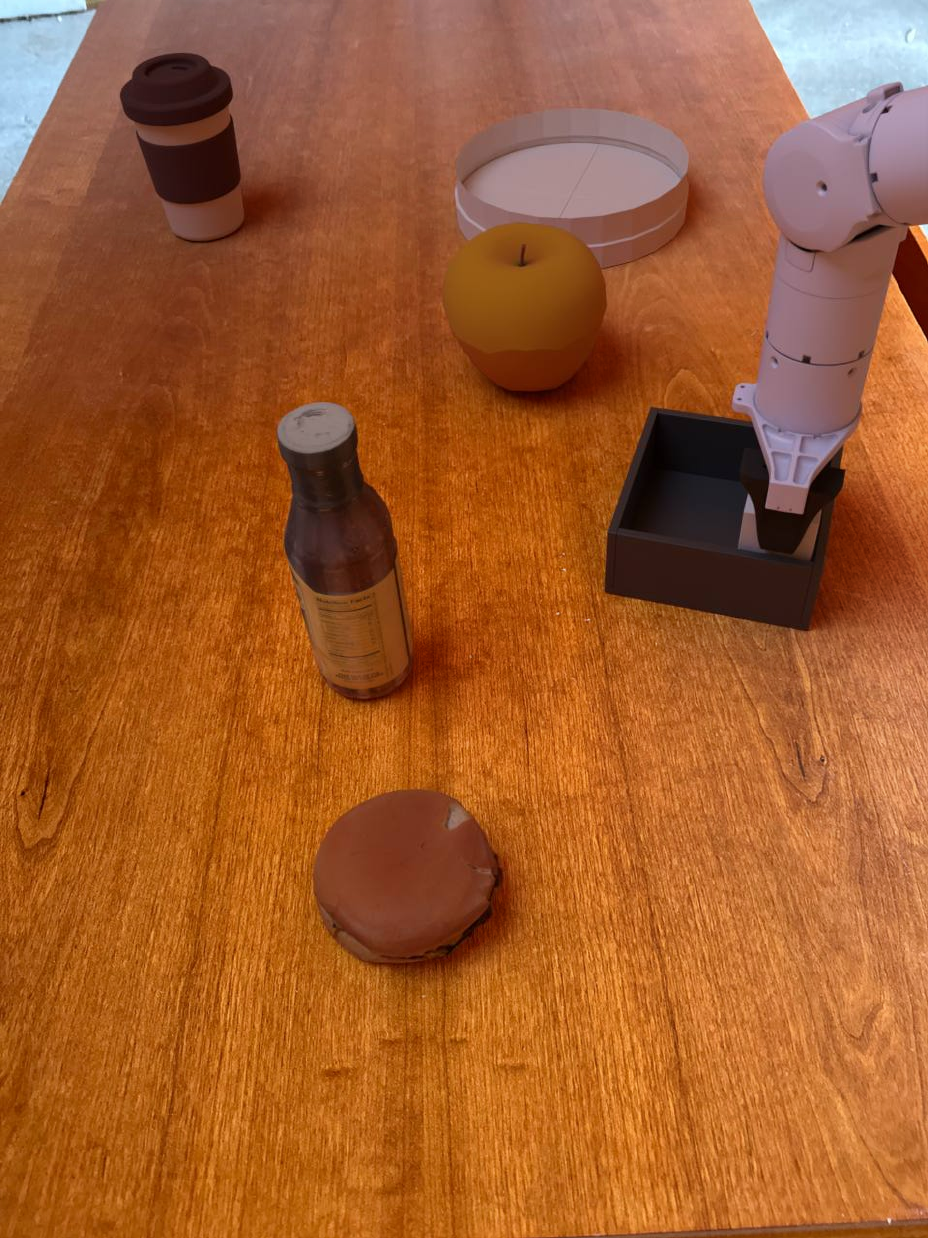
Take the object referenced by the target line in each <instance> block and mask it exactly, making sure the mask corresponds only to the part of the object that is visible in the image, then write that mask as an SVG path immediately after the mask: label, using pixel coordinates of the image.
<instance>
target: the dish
mask: <svg viewBox="0 0 928 1238" xmlns="http://www.w3.org/2000/svg"><path fill="white" fill-rule="evenodd" d="M689 162H690V155H689V151H688V149H687V148H686V146H685V143H684V142H683V140H681V139H680V138H679V137H678V136H677V135H676V134H675V133H674V132H673V131H672V130H671V129H669V128H667V127H665V126H664V125H661V124H660V123H658V122H655V121H653V120H651V119H648V118H646V117H641V116H638V115H636V114H632V113H630V112H629V113H628V112H625V111H617V110H610V109H605V108H585V107H583V108H582V107H567V108H556V109H543V110H539V111H534V112H530V113H525V114H519V115H516V116H513V117H510V118H507V119H504V120H502V121H501V120H500V121H499V122H496V123H493V124H491V125H490V126H487V127H486V128H484V129H483V130H481V131H479V132H477V133H475V134H473V136H472V137H471V138H469V140H467V142H466V143H464V144H463V145H462V146H461V147H460V149H459V152H458V153H457V156H456V159H455V161H454V167H455V178H456V180H455V181H456V185H455V188H454V199H455V210H456V219H457V220H456V221H457V227H458V229H459V230H460V232H461V233H462V235H463V236H464V238H465V240H466V241H467V242H468V241H470V240H471V239H473V238H474V237H475V236H477V235H478V234H480V233H482V232H484V231H486V230H488V229H490V228H492V227H494V226H498V225H504V224H510V223H516V222H522V223H530V224H538V225H547V226H553V227H556V228H559V229H563V230H566V231H569V232H570V233H571V234H573V235H574V236H576V237H577V238H579V239H580V240H581V241H582V242H584V243H585V244H586V245H587V246H588V247H589V248H590V249H591V251H592V252H593V254H594V256H595V257H596V259H597V261H598V262H599V264H600V267H601V270H602V269H606V268H610V267H614V266H618V265H622V264H627V263H631V262H633V261H636V260H638V259H641V258H643V257H645V256H647V255H650V254H652V253H654V252H657V251H658V250H659V249H660V248H662V247H663V246H664V245H666V244H668V243H669V242H670V241H671V240H673V239H674V238H675V237H676V235H677V234H678V233H679V231H680V230H681V228H682V227H683V225H684V224H685V221H686V215H687V214H686V213H687V204H688V197H689V191H690V184H689V182H688V179H687V178H688V172H689V164H690V163H689Z"/></svg>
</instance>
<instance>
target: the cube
mask: <svg viewBox="0 0 928 1238" xmlns="http://www.w3.org/2000/svg"><path fill="white" fill-rule="evenodd" d="M821 510H822V509H821ZM821 510H820V511H819V512H818V514H817V515H816V516H815V518H814V519H813V521H812V522H811V524H810V526H809V528H808V530H807V532H806V534H805V535H804V537H803V539H802V541H801V543H800V545H799V546H798V548H797V549H796V551H795V552H794V553H793V554H787V553H781V552H775V551H769V550H764V549H761V548H760V547H759V543H758V538H757V530H756V518H755V510H754V506H753V503H752V500H751V497H750V495H749V493H748V496H747V501H746V505H745V509H744V514H743V520H742V526H741V532H740V538H739V544H738V549H742V550H748V551H754V552H759V553H765V554H771V555H776V556H782V557H788V558H794V559H799V560H805V561H811V557H812V553H813V548H814V544H815V540H816V535H817V531H818V527H819V522H820V516H821Z"/></svg>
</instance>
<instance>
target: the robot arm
mask: <svg viewBox="0 0 928 1238" xmlns="http://www.w3.org/2000/svg"><path fill="white" fill-rule="evenodd" d="M762 188H763V195H764V200H765V204H766V208H767V209H768V211H769V212H768V213H769V215H770V217H771V218H772V221H773V223H774V224H775V226H776V227H777V229H778V230H779V236H778V242H777V249H776V254H775V255H776V256H775V262H774V269H773V276H772V282H771V288H770V293H769V294H770V295H769V300H768V307H767V313H766V319H765V320H766V321H765V326H764V332H763V339H762V344H761V351H760V352H761V353H760V359H759V365H758V366H759V367H758V370H757V371H758V372H757V378H756V383H751V382H750V383H749V382H741V383H738V384H736V386H735V388H734V392H733V396H732V400H731V410H732V411H733V412H735V413H738V414H743V415H747V416H748V417H750V419H751V420H750V421H752V423H753V426H754V429H755V432H756V435H757V438H758V441H759V444H760V447H761V450H758V449H752V448H745V450H744V454H743V458H742V462H741V467H740V477H741V482H742V485H743V486H744V487H745V489H746V490H747V492H748V493H749V495H750V497H751V500H752V503H753V506H754V510H755V518H756V530H757V538H758V543H759V547H760V548H761V549H764V550H769V551H775V552H781V553H787V554H793V553H794V552H795V551H796V549H797V548H798V546H799V545H800V543H801V541H802V539H803V537H804V535H805V534H806V532H807V530H808V528H809V526H810V524H811V522H812V521H813V519H814V518H815V516H816V515H817V514H818V512H819V511H820V510H821V509H822V508H823V507H825V506H826V505H827V504H828V503H830V502H831V501H833V500H834V499H835V500H836V499H837V498H838V496H839V494H840V493H841V491H842V489H843V487H844V482H845V475H846V468H841V467H840V468H834V467H827V466H825V465H826V464H827V463H828V462H829V461H830V459H831V458H832V457H833V456H834V455H835V454H836V452H837V451H838V450H839V449H840V448H841V447H842V445H843V444H844V445H845V443H846V442H847V441H848V440H849V438H850V437H851V436H852V435H853V434H854V433H855V431H856V430H857V428H858V427H859V425H860V423H861V419H862V414H863V401H862V398H863V394H864V390H865V387H866V386H865V385H866V381H867V377H868V374H869V369H870V365H871V361H872V357H873V353H874V349H875V345H876V339H877V336H878V332H879V328H880V323H881V319H882V315H883V312H884V307H885V304H886V303H885V302H886V299H887V294H888V291H889V287H890V283H891V277H892V274H893V270H894V267H895V262H896V259H897V254H898V249H899V245H900V243H901V242H903V241H905V240H906V238H907V235H908V231H909V227H915V226H925V225H928V85H924V86H920V87H916V88H913V89H908V90H904V85H903V83H902V82H901V81H894V82H889V83H886V84H883V85H881V86H878V87H876V88H873V89H870V90H869V91H868V92H867V93H866V96H864V97H861V98H859V99H857V100H854V101H852V102H849V103H847V104H844V105H842V106H840V107H837V108H835V109H832V110H829V111H827V112H825V113H823V114H820V115H817V116H815V117H813V118H811V119H805V120H803V121H801V122H799V123H798V124H797V125H794V126H793V127H792V128H791V129H789V130H786V131H785V132H783V133H782V134H780V135H779V136H778V137H777V139H775V140H774V141H773V143H772V145H771V146H770V148H769V150H768V152H767V154H766V157H765V161H764V165H763V173H762Z"/></svg>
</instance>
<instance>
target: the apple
mask: <svg viewBox="0 0 928 1238" xmlns="http://www.w3.org/2000/svg"><path fill="white" fill-rule="evenodd" d="M440 291H441V301H442V307H443V310H444V313H445V316H446V319H447V322H448V325H449V328H450V330H451V332H452V334H453V336H454V338H455V340H456V342H457V343H458V345H459V347H460V348H461V349H462V351H463V353H464V354H465V355H466V357H467V358H468V359H469V360H470V362H472V363H473V364H474V365H475V367H476V368H477V369H478V371H480V373H481V374H482V375H484V376H485V377H486V378H488V379H489V380H490V381H491V382H493V383H494V384H496V385H497V386H498V387H502V388H503V389H505V390H508V391H511V392H542V391H549V390H550V391H551V390H556V389H557V388H559V387H560V386H562V385H564V384H565V383H567V382H568V381H570V380H572V378H573V377H574V376H575V375H576V373H577V372H579V370H580V369H581V367H582V366H583V365H584V364H585V362H586V361H587V360H588V359H589V357H590V356H591V353H592V351H593V349H594V347H595V345H596V342H597V340H598V337H599V335H600V331H601V328H602V324H603V320H604V317H605V314H606V311H607V308H608V301H607V284H606V280H605V277H604V273H603V271H602V269H601V267H600V264H599V262H598V261H597V259H596V257H595V256H594V254H593V252H592V251H591V249H590V248H589V247H588V246H587V245H586V244H585V243H584V242H582V241H581V240H580V239H579V238H577V237H576V236H574V235H573V234H571V233H570V232H569V231H566V230H563V229H559V228H556V227H553V226H547V225H538V224H530V223H522V222H516V223H510V224H504V225H498V226H494V227H492V228H490V229H488V230H486V231H484V232H482V233H480V234H478V235H477V236H475V237H474V238H473V239H471V240H470V241H467V242H465V243H463V245H462V246H461V247H460V248H459V249H458V250H457V252H455V254H454V255H453V256H452V258H451V259H450V260H449V262H448V264H447V267H446V270H445V274H444V277H443V283H442V286H441V290H440Z"/></svg>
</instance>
